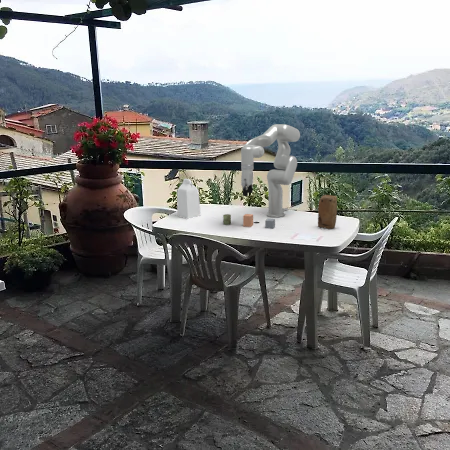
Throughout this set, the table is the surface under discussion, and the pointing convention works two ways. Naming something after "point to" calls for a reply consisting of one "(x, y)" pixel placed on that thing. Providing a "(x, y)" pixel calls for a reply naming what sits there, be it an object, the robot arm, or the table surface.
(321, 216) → the block
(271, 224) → the grey cube
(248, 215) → the terracotta block
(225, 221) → the olive cylinder
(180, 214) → the milk
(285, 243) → the table surface
